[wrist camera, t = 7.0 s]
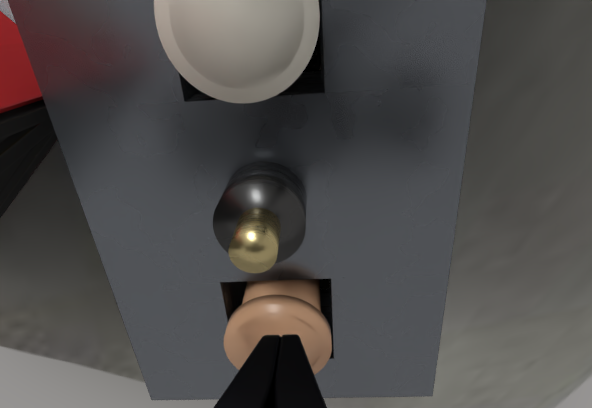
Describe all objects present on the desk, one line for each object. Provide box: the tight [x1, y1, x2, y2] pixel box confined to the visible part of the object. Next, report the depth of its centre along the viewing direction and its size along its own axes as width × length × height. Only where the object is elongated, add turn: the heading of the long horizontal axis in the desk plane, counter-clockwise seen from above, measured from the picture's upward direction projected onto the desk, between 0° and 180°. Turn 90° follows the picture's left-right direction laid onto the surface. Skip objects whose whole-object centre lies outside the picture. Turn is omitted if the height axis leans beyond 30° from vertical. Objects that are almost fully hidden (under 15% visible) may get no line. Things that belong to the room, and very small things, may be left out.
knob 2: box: [224, 279, 332, 375], centre depth 18 cm, size 4×4×6 cm
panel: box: [8, 0, 487, 400], centre depth 16 cm, size 14×22×5 cm, turn 4°
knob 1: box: [154, 0, 320, 103], centre depth 13 cm, size 4×4×6 cm
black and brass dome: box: [213, 161, 306, 273], centre depth 12 cm, size 3×3×4 cm
